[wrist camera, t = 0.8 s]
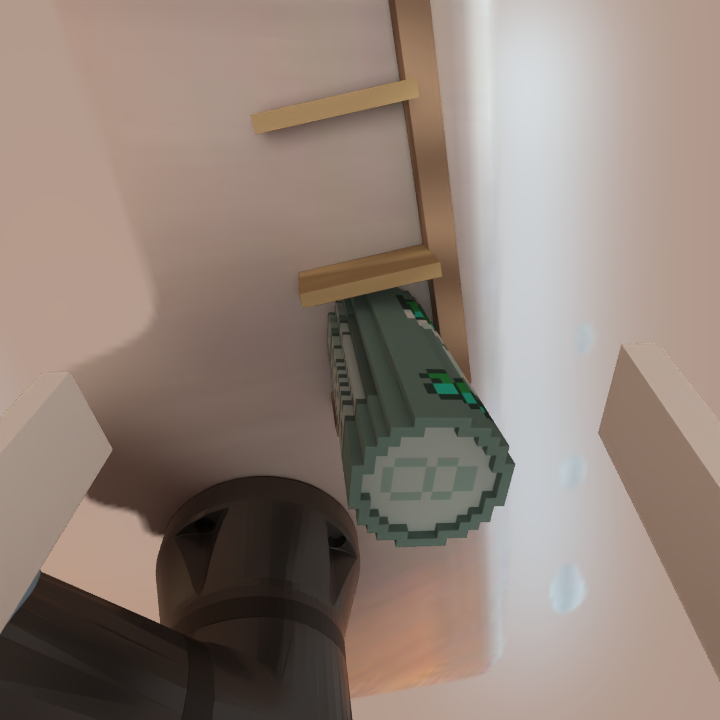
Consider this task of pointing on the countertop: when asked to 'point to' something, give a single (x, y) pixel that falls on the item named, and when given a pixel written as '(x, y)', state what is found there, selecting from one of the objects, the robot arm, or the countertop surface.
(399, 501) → the can
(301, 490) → the robot arm
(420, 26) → the notch rack
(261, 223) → the countertop surface
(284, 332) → the countertop surface
